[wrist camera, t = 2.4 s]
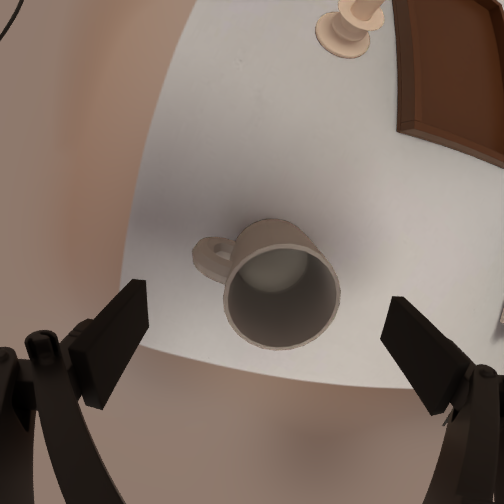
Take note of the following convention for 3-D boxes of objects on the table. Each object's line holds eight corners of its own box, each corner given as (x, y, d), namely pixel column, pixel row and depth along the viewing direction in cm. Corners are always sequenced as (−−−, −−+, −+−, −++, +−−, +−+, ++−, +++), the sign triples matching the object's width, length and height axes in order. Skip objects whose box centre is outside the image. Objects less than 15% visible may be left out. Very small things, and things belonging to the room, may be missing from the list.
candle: (311, 49, 21) (346, -8, 11) (318, 7, 20) (350, -54, 10) (365, 66, 21) (423, 23, 11) (369, 24, 20) (419, -26, 10)
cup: (293, 304, 27) (311, 361, 19) (191, 271, 26) (167, 318, 18) (324, 234, 26) (359, 266, 17) (216, 194, 25) (199, 208, 16)
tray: (384, -43, 17) (395, -56, 13) (487, 10, 17) (501, 4, 14) (396, 132, 23) (414, 128, 20) (503, 169, 24) (522, 171, 21)
